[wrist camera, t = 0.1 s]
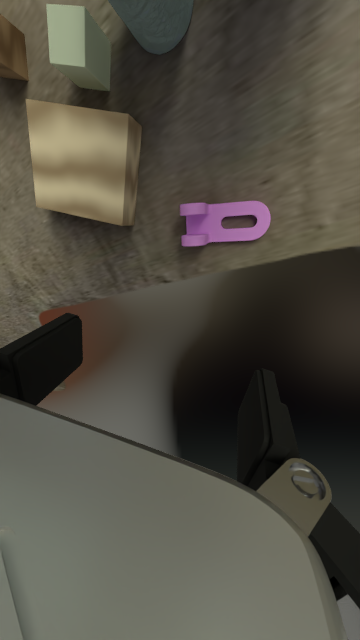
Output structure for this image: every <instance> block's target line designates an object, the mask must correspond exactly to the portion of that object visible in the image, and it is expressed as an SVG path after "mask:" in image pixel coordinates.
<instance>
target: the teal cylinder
mask: <svg viewBox="0 0 360 640" xmlns="http://www.w3.org/2000/svg"><path fill="white" fill-rule="evenodd" d="M108 1H109V3H110V4H111V5H112V7H113V8H114V10H115V11H116V12H117V14H118V15H119V16H120V18H121V19H122V20H123V21H124V23H125V25H126V26H127V27H128V29H129V30H130V31H131V33H132V34H133V36H134V37H135V39H136V40H137V41H138V43H139V44H140V45H141V46H142V47H143V48H144V49H145V50H146V51H147V52H150V53H153V54H159V55H161V54H163V53H166V52H169V51H170V50H172V49H173V48H174V47H175V46H176V45H177V44H178V43H179V42H180V41H181V39H182V38H183V37H184V35H185V33H186V31H187V29H188V26H189V23H190V20H191V15H192V9H193V0H108Z"/></svg>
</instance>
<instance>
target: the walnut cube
mask: <svg viewBox="0 0 360 640" xmlns="http://www.w3.org/2000/svg"><path fill="white" fill-rule="evenodd" d="M0 77H4V78H11V79H19V80H26V81H29V80H28V69H27V58H26V47H25V37H24V34H23V33H22V32H21V31H19V30H18V29H17V28H16V27H15V26H14V25H12V24H11V23H10V22H9V21H8V20H7V19H5V18H4V17H3V16H2V15H1V14H0Z"/></svg>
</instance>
